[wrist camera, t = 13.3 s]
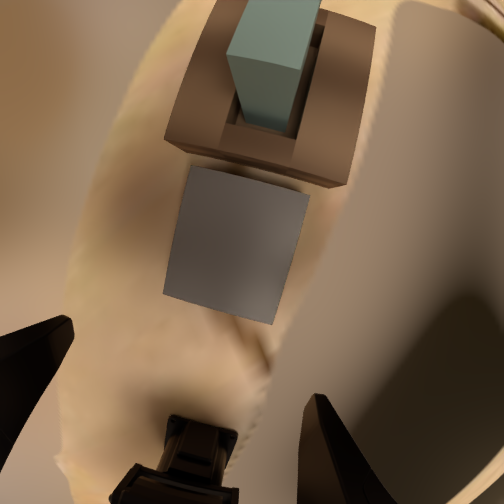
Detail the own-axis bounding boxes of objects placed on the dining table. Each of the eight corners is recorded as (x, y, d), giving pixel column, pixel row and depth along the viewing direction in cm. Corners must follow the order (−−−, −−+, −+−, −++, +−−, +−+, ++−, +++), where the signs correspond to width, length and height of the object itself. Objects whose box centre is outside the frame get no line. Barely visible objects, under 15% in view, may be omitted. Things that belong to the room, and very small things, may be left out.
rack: (328, 188, 19) (346, 184, 14) (185, 152, 19) (163, 139, 14) (357, 56, 17) (376, 26, 12) (229, 25, 17) (221, -8, 12)
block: (284, 132, 17) (299, 69, 8) (246, 122, 17) (225, 54, 8) (306, 56, 16) (329, -31, 7) (270, 47, 16) (270, -43, 7)
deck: (271, 307, 20) (272, 325, 17) (177, 281, 20) (162, 294, 17) (303, 196, 19) (310, 195, 16) (202, 170, 19) (191, 164, 16)
